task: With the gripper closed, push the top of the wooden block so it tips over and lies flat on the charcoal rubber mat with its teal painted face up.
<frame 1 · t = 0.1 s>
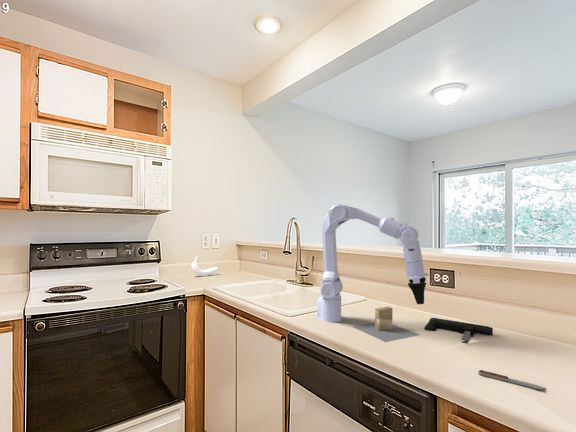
hand: (420, 301, 115), 11 cm above the worktop, tool pointing down, fingers open, 7 cm apart
banana: (204, 276, 229), on the worktop
wooden block: (383, 328, 116), point 1 cm above the worktop, touching mat
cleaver: (511, 382, 80), on the worktop
mat: (384, 332, 114), on the worktop
black toy gun: (456, 336, 114), on the worktop
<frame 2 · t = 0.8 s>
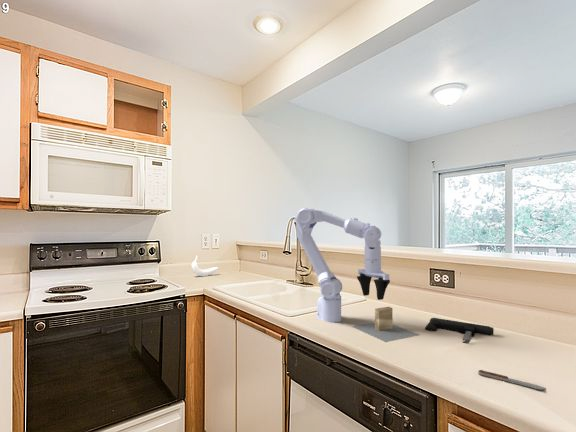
hand: (373, 297, 121), 10 cm above the worktop, tool pointing down, fingers open, 7 cm apart
nothing on the worktop moved.
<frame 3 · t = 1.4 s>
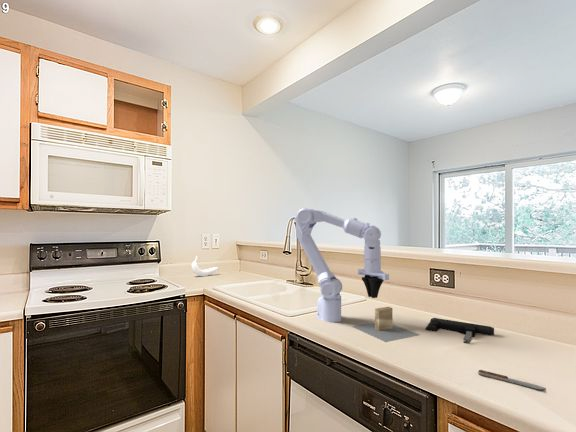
hand: (372, 297, 122), 10 cm above the worktop, tool pointing down, fingers closed
nothing on the worktop moved.
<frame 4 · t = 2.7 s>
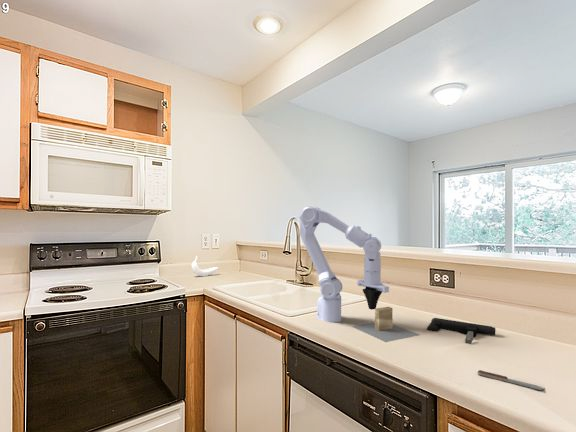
hand: (372, 308, 121), 6 cm above the worktop, tool pointing down, fingers closed
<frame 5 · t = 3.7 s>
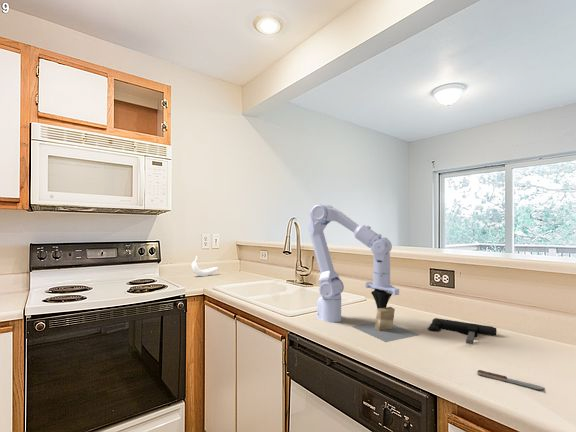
hand: (381, 312, 117), 6 cm above the worktop, tool pointing down, fingers closed
wooden block: (383, 328, 116), point 1 cm above the worktop, tilted 9°, touching mat
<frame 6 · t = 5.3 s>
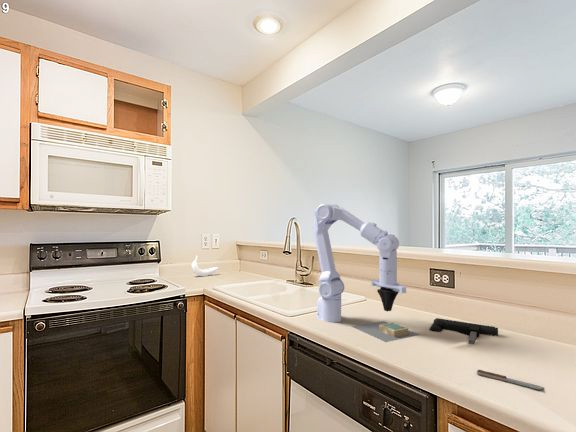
hand: (387, 310, 114), 7 cm above the worktop, tool pointing down, fingers closed
wooden block: (385, 326, 115), point 2 cm above the worktop, tilted 90°, touching mat
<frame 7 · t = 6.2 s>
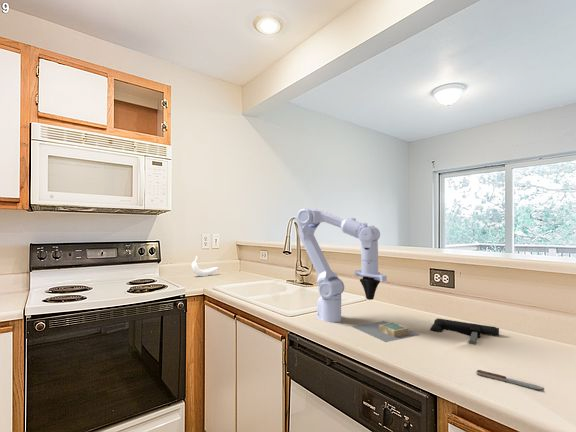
hand: (370, 299, 118), 10 cm above the worktop, tool pointing down, fingers closed
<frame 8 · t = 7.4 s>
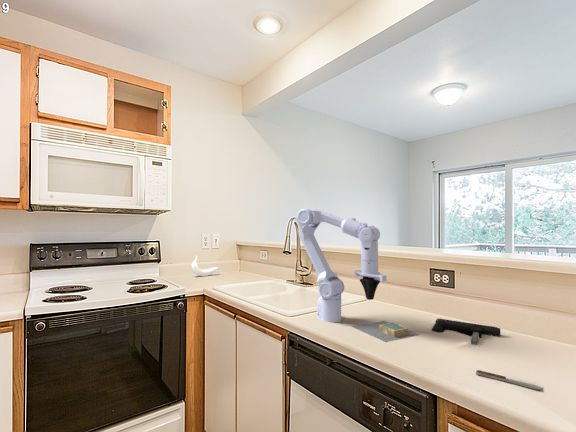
hand: (370, 299, 118), 10 cm above the worktop, tool pointing down, fingers closed
at the end: wooden block tilted 90°; wooden block inside the target area (0.9 cm from its centre), point 1.8 cm above the worktop; wooden block touching mat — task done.
